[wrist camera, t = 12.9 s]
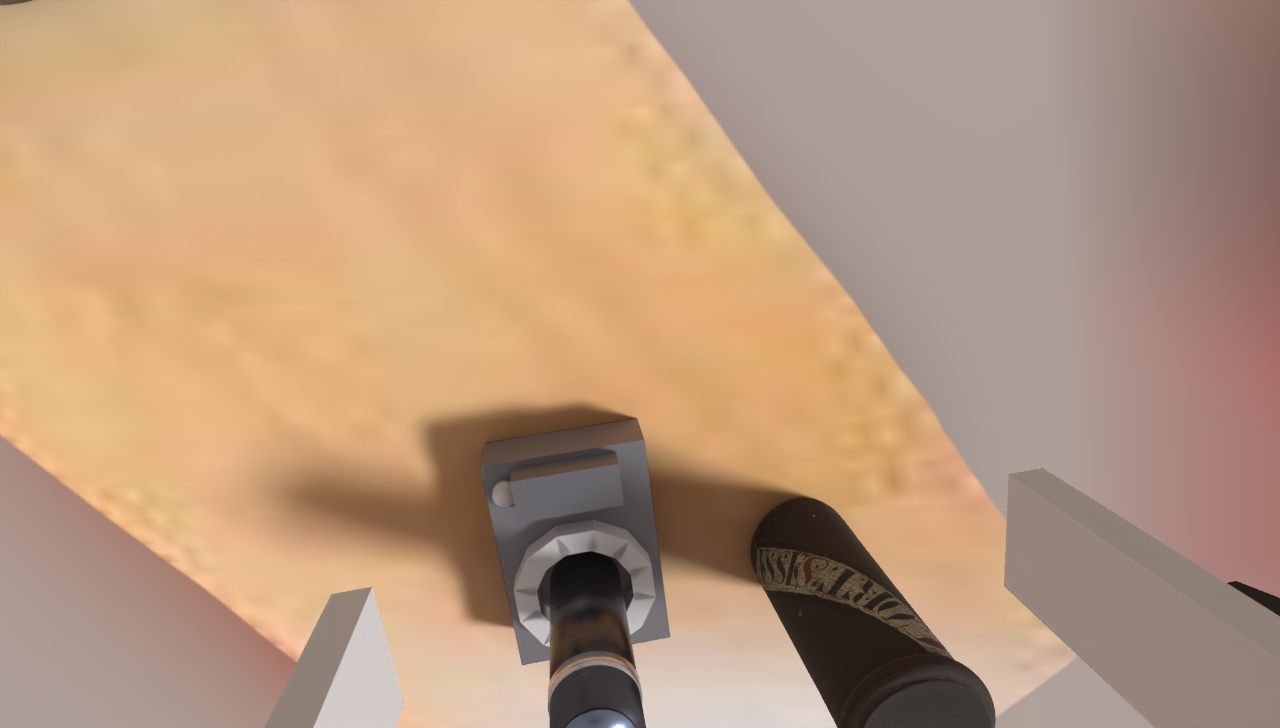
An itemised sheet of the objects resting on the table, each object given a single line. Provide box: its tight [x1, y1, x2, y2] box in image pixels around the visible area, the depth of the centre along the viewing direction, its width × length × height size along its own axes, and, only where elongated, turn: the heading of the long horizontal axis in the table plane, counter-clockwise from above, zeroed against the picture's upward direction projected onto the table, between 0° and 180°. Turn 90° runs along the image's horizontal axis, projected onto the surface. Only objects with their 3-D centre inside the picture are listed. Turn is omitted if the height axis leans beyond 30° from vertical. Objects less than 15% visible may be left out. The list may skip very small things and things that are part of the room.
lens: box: [548, 551, 646, 728], centre depth 42 cm, size 5×5×14 cm
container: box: [751, 499, 995, 728], centre depth 45 cm, size 9×9×20 cm
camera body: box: [480, 419, 670, 665], centre depth 49 cm, size 16×11×6 cm
